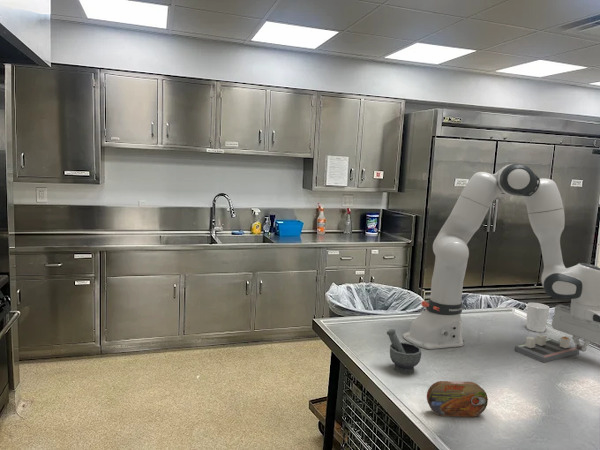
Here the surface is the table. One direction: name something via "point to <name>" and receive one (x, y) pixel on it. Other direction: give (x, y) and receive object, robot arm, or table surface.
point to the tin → (457, 398)
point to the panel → (547, 351)
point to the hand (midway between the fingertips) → (580, 350)
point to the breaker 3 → (565, 342)
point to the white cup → (537, 316)
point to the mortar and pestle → (403, 354)
